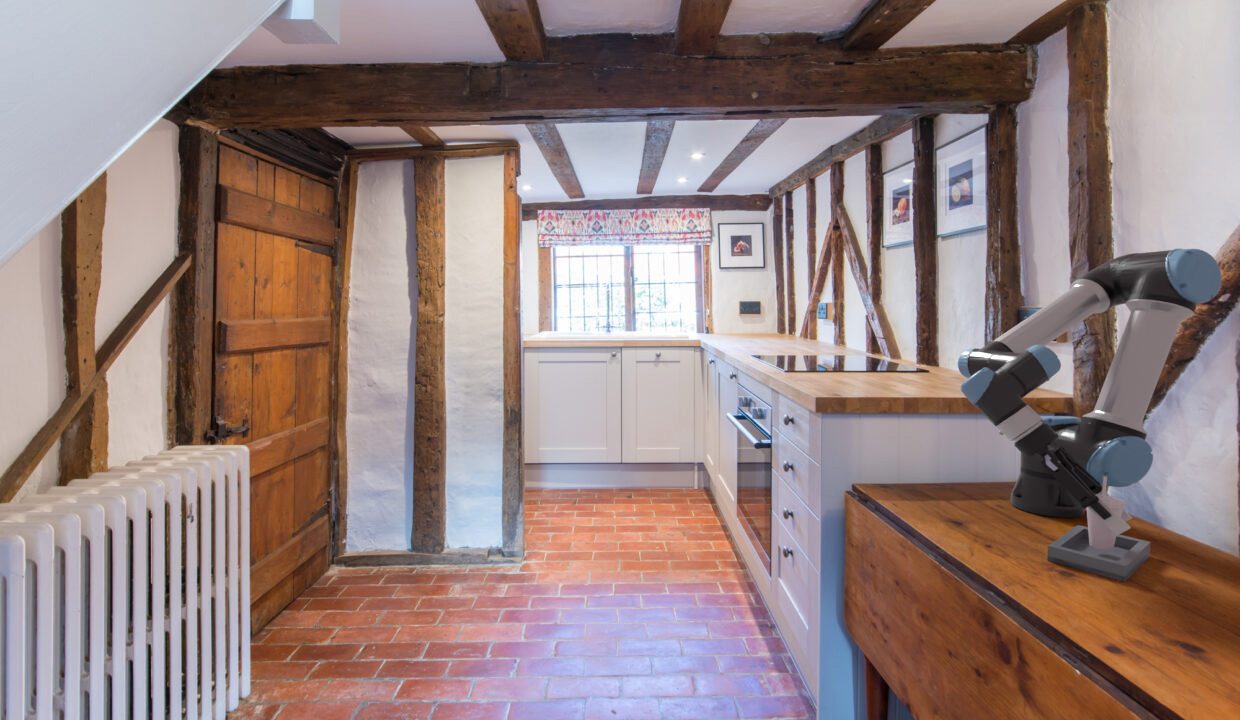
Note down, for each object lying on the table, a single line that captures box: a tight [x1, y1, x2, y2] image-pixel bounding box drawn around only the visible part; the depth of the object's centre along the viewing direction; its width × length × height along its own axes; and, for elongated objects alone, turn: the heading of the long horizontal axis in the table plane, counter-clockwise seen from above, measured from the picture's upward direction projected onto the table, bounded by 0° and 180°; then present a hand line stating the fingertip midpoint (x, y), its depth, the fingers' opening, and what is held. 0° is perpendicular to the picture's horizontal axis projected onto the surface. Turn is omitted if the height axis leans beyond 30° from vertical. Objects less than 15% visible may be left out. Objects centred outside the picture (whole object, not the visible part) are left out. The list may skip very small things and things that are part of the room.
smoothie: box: [1085, 476, 1126, 550], centre depth 118 cm, size 6×6×14 cm
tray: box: [1046, 524, 1152, 583], centre depth 119 cm, size 18×12×3 cm, turn 128°
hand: (1124, 526), depth 116 cm, fingers closed on smoothie, 6 cm apart
